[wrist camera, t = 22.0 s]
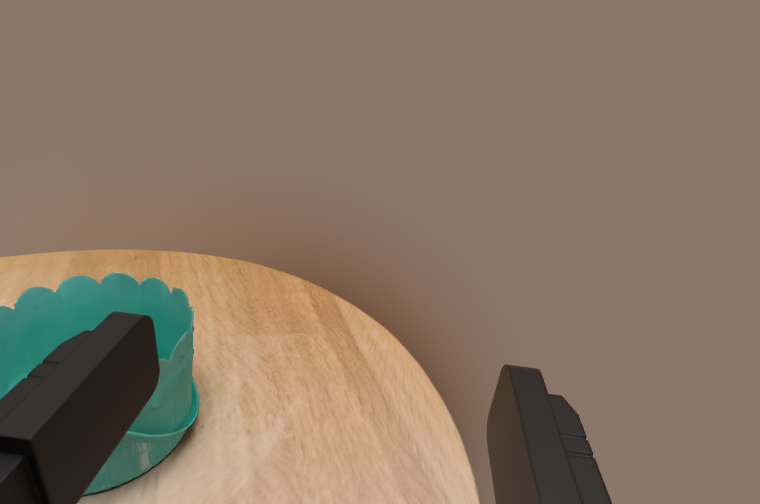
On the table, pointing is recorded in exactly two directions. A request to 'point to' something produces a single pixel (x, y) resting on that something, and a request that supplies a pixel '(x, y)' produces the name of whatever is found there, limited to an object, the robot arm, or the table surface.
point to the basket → (85, 312)
